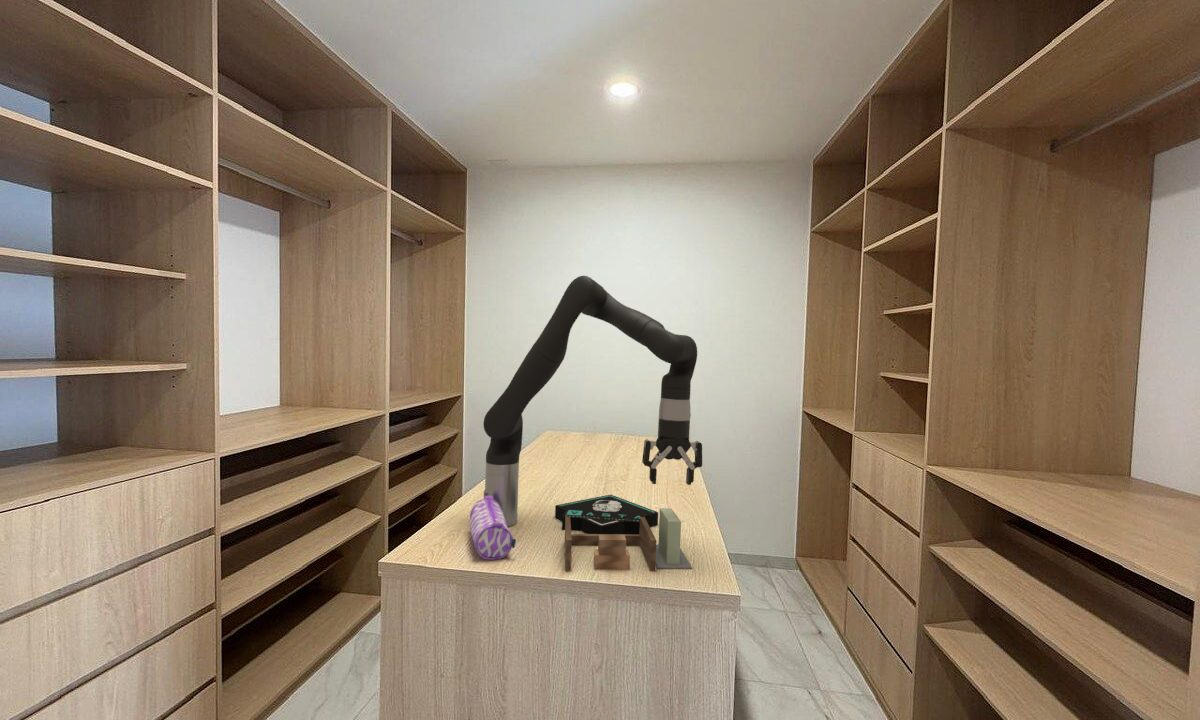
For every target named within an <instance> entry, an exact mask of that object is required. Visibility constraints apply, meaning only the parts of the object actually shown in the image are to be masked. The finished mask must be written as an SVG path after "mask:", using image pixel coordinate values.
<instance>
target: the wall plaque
mask: <svg viewBox="0 0 1200 720" xmlns="http://www.w3.org/2000/svg"><path fill="white" fill-rule="evenodd" d="M554 507H555V509H554V519H555V518H556V519H555V520H557V519H558V521H559V520H560V522H561V521H562V522H561V531H565V516H568V517H570V522H571V532H582V533H583V534H639V530H640V517H645V519H646V521H647V523H648V525H649V527H650V528H653V527H656V526H657V527H658V526H659V511H656V510H654V509H650V508H648V507H645V506H643V505H640V504H638V503H635V502H632V501H629V500H626V499H624V498H622V497H619V496H615V495H613V494H607V495H606V494H605V495H601V496H595V497H590V498H585V499H581V500H575V501H570V502H566V503H561V504H557V505H554Z"/></svg>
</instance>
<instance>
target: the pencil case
mask: <svg viewBox="0 0 1200 720" xmlns="http://www.w3.org/2000/svg"><path fill="white" fill-rule="evenodd" d="M484 497H485V499H484ZM469 531H470V536H471V539H472V541H473V546H474V548H475V550H476V552H477V554H478V556H480V558H482V559H484V560H487V561H494V560H495V559H496V560H500V559H503V558H505V557H506V556H507V555H509V553H510V552H511V549H515V546H516V542H517V539H516V538H514V537H513V534H512V531H511V530H510V529H509V528H508V526H507V523H506V520H505V518H504V515H503V512H502V510H501V508H500V505H499V504H498V503H497V502H496V501H495V500H493V496H484V495H483V499H479V500H476V502H475V503H474V504H473V505H472V508H471V510H470V513H469Z"/></svg>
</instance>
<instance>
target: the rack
mask: <svg viewBox="0 0 1200 720" xmlns="http://www.w3.org/2000/svg"><path fill="white" fill-rule="evenodd" d="M599 535H625V538H626V547H629V546H631V547H632V546H633V547H637V546H638V547H639V548H640V549H641V552H642V555H643V556H644V557H643V558H644V560H645V562H646V564H647V567H648V569H649V572H656V568H657V566H656V545H657V539H656V537H655V535H654V532H653V531H652V529H651V527H649V525H648V523H647V521H646V519H645V517H640V530H639V534H586V533H572V531H571V522H570V517H568V516H565V530H564V544H563V545H564V568H565V569H564V570H565V572H571V570H572V547H573V546H582V547H583V546H588V547H589V546H590V547H591V546H593V547H594V546H597V547H598V544H599Z"/></svg>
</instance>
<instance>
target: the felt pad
mask: <svg viewBox="0 0 1200 720" xmlns="http://www.w3.org/2000/svg"><path fill="white" fill-rule="evenodd" d="M656 568H657V570H676V569H677V570H692V569H693V567H692V565H691V563H690V562H689V560H688V558H687V556H685V553H684V551H683V550H682V548H681V547H680V563H679V564H667V563H666V561H665V559H664V557H663V556H662V554H661V552H660V550H659V548H658V544H656Z"/></svg>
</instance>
